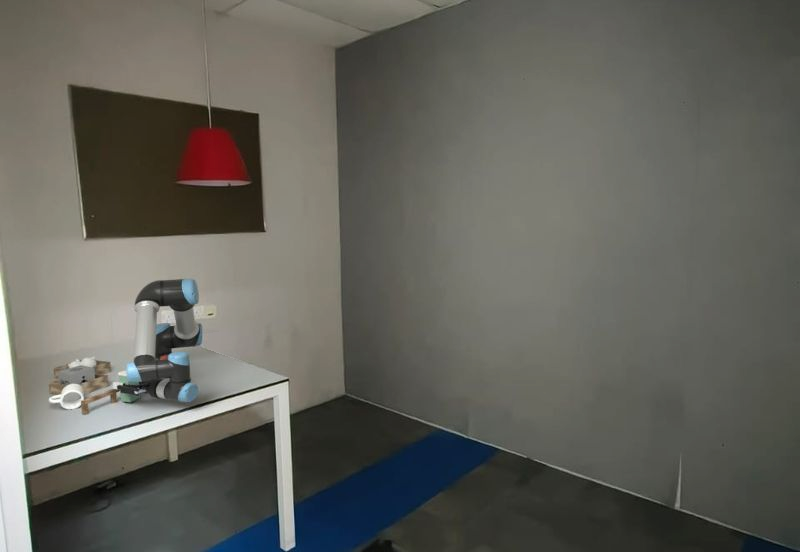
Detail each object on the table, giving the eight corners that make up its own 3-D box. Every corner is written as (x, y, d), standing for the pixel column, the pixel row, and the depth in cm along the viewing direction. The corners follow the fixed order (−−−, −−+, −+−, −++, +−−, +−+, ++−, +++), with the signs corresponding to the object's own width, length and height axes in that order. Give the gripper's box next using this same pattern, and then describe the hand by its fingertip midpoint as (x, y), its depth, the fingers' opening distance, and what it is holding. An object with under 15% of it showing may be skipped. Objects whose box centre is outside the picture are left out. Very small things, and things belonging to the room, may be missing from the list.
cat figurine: (67, 358, 236) (95, 352, 244) (66, 365, 243) (93, 359, 251) (70, 375, 233) (99, 368, 241) (69, 381, 241) (97, 375, 249)
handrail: (139, 391, 216) (138, 379, 215) (142, 391, 215) (141, 379, 215) (82, 414, 191) (80, 401, 190) (85, 414, 190) (83, 401, 190)
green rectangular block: (131, 396, 206) (128, 369, 205) (140, 397, 205) (138, 370, 203) (120, 400, 202) (118, 372, 200) (129, 402, 200) (127, 373, 198)
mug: (84, 399, 207) (83, 381, 206) (84, 407, 198) (82, 388, 197) (50, 406, 200) (48, 387, 199) (48, 414, 192) (46, 394, 191)
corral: (85, 368, 251) (84, 358, 250) (138, 375, 238) (137, 365, 238) (19, 389, 221) (18, 378, 220) (75, 397, 209) (74, 386, 208)
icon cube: (59, 393, 215) (57, 371, 214) (83, 386, 224) (81, 365, 223) (73, 396, 211) (70, 374, 209) (96, 389, 219) (94, 367, 218)
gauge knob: (166, 362, 217) (165, 355, 217) (171, 363, 216) (170, 355, 216) (160, 364, 214) (160, 356, 214) (165, 364, 213) (165, 357, 213)
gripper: (144, 405, 188) (101, 399, 196) (180, 390, 205) (138, 384, 213) (143, 387, 187) (99, 381, 195) (178, 373, 204) (137, 368, 212)
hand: (119, 383), depth 204 cm, fingers closed on green rectangular block, 5 cm apart
